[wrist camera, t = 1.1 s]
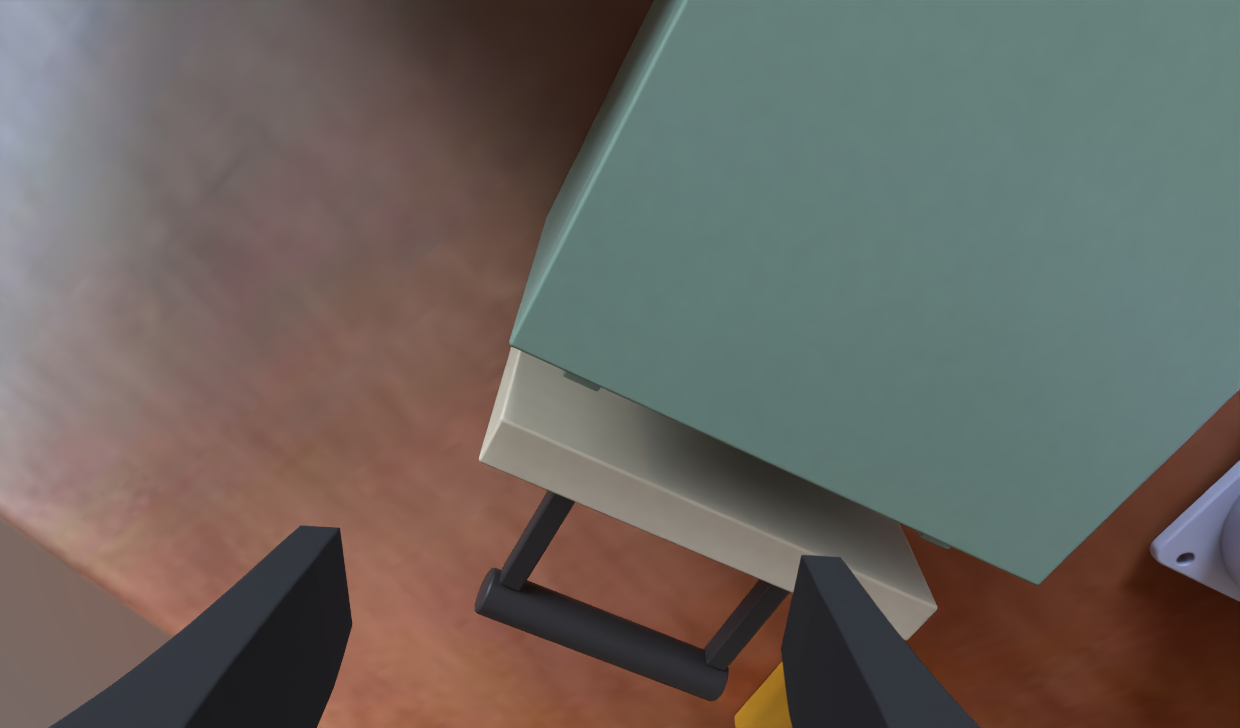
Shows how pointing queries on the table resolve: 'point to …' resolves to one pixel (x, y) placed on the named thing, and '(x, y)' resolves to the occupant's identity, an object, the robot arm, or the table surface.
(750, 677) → the table surface
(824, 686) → the robot arm
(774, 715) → the block
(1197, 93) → the cabinet
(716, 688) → the drawer
